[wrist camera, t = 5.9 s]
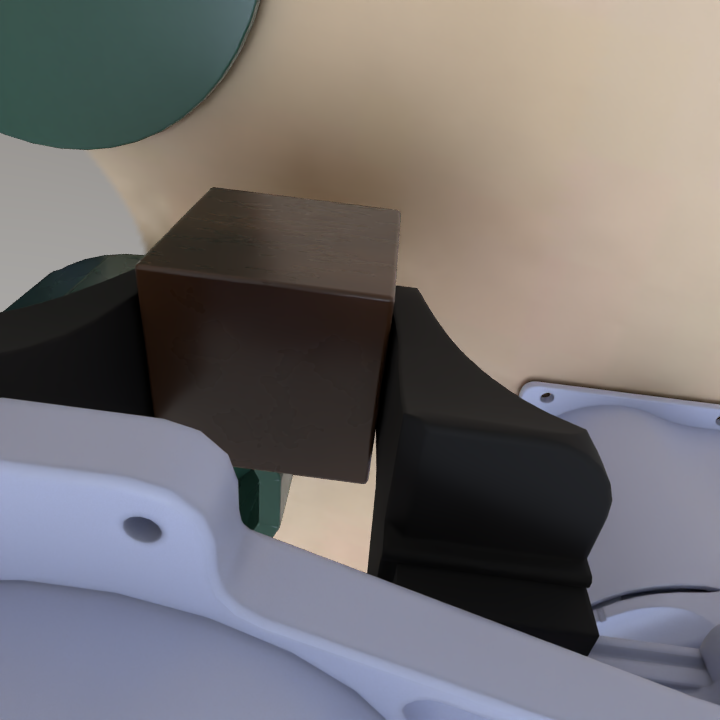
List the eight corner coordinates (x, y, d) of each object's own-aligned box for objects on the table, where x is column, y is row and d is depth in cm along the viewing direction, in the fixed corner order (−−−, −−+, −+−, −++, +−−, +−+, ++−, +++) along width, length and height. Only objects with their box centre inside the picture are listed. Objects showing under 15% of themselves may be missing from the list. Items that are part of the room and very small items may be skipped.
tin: (313, 275, 22) (284, 357, 17) (300, 506, 29) (277, 609, 24) (-19, 234, 22) (-136, 304, 17) (49, 473, 29) (-21, 569, 24)
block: (401, 209, 13) (395, 298, 10) (379, 367, 16) (367, 486, 12) (210, 185, 13) (132, 264, 10) (218, 346, 16) (157, 459, 12)
